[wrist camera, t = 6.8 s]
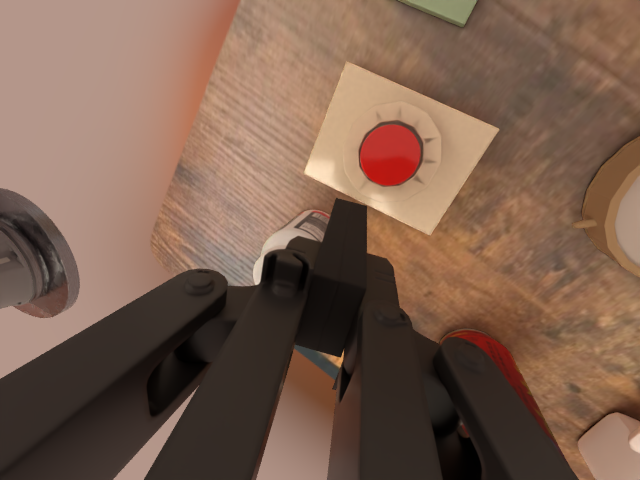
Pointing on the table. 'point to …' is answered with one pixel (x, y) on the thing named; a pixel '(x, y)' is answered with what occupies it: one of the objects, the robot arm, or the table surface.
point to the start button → (390, 154)
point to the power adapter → (613, 448)
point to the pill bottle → (293, 235)
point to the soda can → (506, 373)
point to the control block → (423, 121)
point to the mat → (445, 9)
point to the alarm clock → (616, 208)
